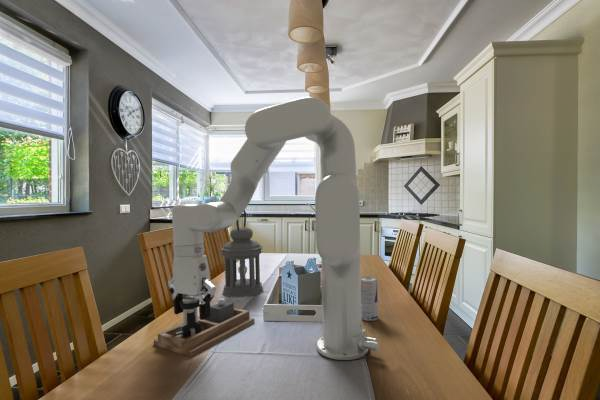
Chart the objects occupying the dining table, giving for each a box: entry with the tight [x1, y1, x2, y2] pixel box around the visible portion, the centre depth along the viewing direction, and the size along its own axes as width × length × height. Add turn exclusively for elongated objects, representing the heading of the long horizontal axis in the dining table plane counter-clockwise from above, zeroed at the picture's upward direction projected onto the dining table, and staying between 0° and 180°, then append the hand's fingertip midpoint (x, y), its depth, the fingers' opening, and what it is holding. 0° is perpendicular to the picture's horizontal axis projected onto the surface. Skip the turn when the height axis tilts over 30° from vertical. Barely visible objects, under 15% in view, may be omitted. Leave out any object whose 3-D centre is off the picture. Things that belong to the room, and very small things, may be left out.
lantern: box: [220, 209, 264, 298], centre depth 133 cm, size 17×17×35 cm
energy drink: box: [361, 276, 379, 322], centre depth 101 cm, size 5×5×12 cm
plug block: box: [209, 298, 235, 323], centre depth 98 cm, size 4×6×7 cm, turn 149°
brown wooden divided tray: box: [153, 307, 255, 358], centre depth 94 cm, size 14×24×3 cm, turn 149°
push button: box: [176, 295, 201, 338], centre depth 89 cm, size 7×5×10 cm
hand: (192, 315), depth 88 cm, fingers open, 9 cm apart
